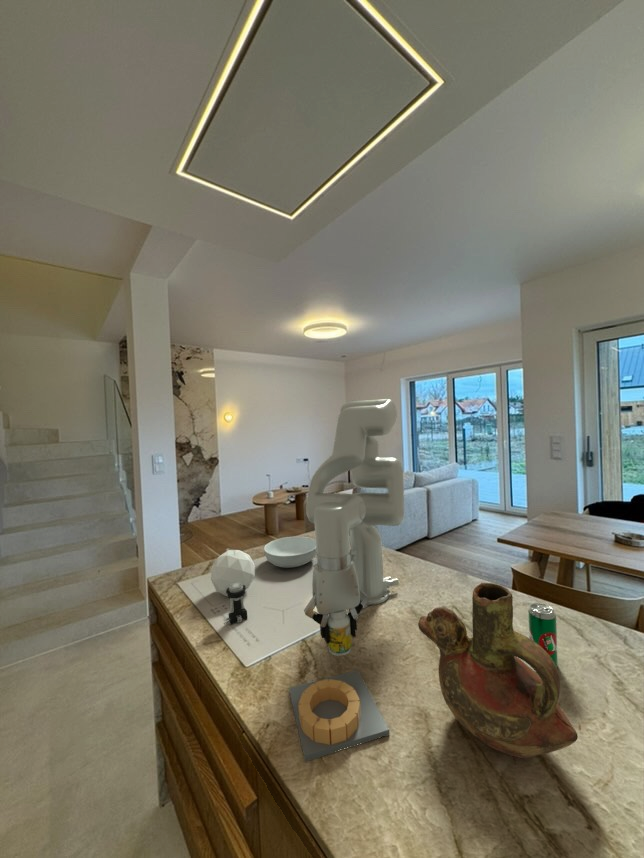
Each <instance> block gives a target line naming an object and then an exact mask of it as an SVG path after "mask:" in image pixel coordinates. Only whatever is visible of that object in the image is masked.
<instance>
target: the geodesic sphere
mask: <svg viewBox="0 0 644 858" xmlns="http://www.w3.org/2000/svg"><path fill="white" fill-rule="evenodd" d="M225 550H226V551H225V552H223V553H222V554H221V555H219V556H218V557H217V558H216V560H215V561H214V562H213V564H212V566H211V568H210V580H211V583H212V585H213V587H214V589H215V592H218V593H220V594H222V595H224V596H226V597H228V595H227V593H226V589H227V588H228V587H229V586H230V585H231V584H233V583H236V582H239V583H242V585H244V586H245V587H246V590H248V589H249V587H250V585H251V584H252V582H253V581H254V579H255V575H256V574H255V572H256V567H255V563H254V561H253V559H252V557H251V556H250V554H248V553H246V552H245V551H242V550H240V549H235V548H234V549H233V548H230V547H229V548H226V549H225Z"/></svg>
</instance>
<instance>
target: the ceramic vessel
mask: <svg viewBox="0 0 644 858" xmlns="http://www.w3.org/2000/svg"><path fill="white" fill-rule="evenodd" d="M471 597H472V600H471V601H472V602H471V603H472V609H471V610H472V613H471V614H472V615H471V616H472V618H471V619H472V620H471V621H472V637H469V636H468V634H467V628H466V626H465V624H464V622H463V621H462V619H461V618H459V616H458V615H457V614H456V612H454V611H453V610H451V609H449V608H445V607H443V606H442V607H436V608H433V609H432V611H429V612H428V613H427V616H420V618H419V619H418V623H417V625H418V629H419V631H420V632H421V633H422V634H423V635H425V636H426V637H427V638H428V639H429V640H430V641H432V642H433V643H434V644H435V645H436V646H437V647H438V649H439V663H438V680H439V686H440V689H441V694H442V697H443V699H444V702H445V703H446V705H447V707H448V708H449V710H450V711H451V713H452V715H453V717H454V718H455V719H456V721H457V722H459V723H460V724H461V725H462V726H463V728H465V729H466V730H467V731H468V732H469V733H470V734H472V735H473V736H474V737H476V738H478V739H479V740H480V741H481V742H482V743H483V744H485V745H487V746H488V747H490V748H492V749H493V750H496V751H498V752H500V753H501V752H502V753H503V754H507V755H508V756H511V757H515V758H520V759H527V758H530V757H534V756H540V755H545V754H546V755H547V754H549V753H553V752H557V751H559V750H562V749H564V748H565V749H566V748H567V747H569V746H571V745H573V744H574V743H575V742H576V741H577V740H578V733H577V731H576V729H575V728H574V726H573V724H572V723H571V722H570V721H569V719H568V717H567V716H566V714H565V712H564V711H563V710H562V709H561V707H560V706H559V704H558V701H559V697H560V691H561V690H560V689H561V679H560V674H559V672H558V667H557V666H556V665H555V663H554V661H553V660H552V658H551V657H550V655H549V654H548V653H547V652H546V651H545V650H544V649H543V648H542V647H541V646H540V645H538V644H537V643H536V642H534V641H533V640H531V639H530V638H529V637H527V636H526V635H524V634H522V633H519V632H518V631H515V630H514V626H513V625H514V624H513V621H514V606H513V602H514V601H513V598H514V597H513V594H512V592H511V591H510V590H509V589H508V588H507V587H505V586H502V585H501V584H498V583H493V582H480V583H479V584H478V585H477V586H475V587H474V589H473V591H472V596H471ZM528 665H529V666H528Z"/></svg>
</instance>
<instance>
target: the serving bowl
mask: <svg viewBox="0 0 644 858" xmlns="http://www.w3.org/2000/svg"><path fill="white" fill-rule="evenodd" d="M263 551H264V555H265V558H266V560H267V561H268V562H269V563H271V564H272V565H274V566H275V567H279V568H287V569H288V568H297V567H301V566H304V565H307V564H308V563H309V562H311V561H312V560H313V559H314V558H315V557H316V556H317V551H316V539H314V538H313V537H312V538H311V537H307V536H286V537H280V538H277V539H274V540H271V541H270V542H268V543H266V544H265V545H264V547H263Z"/></svg>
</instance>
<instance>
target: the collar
mask: <svg viewBox="0 0 644 858" xmlns="http://www.w3.org/2000/svg"><path fill="white" fill-rule="evenodd" d="M326 700H335V701H339V702H341V703H342V704H344V705H345V706H346V707H347V710H346V711H345V712H344V713H343V714H342V715H341V716H340V717H337V718H334V719H330V720H329V719H323V718H319V717H318V716H316V715H315V714H314V713H313V712H312V710H313V708H314V707H315V706H316V705H317V704H319V703H320V702H322V701H326ZM298 708H299V720H300V724H301V728H302V730H303V732H304V733H305V734H306V735H307V736H308V737H309V738H310V739H312V740H313V741H314V740H315V742H319V743H324V744H329V745H330V742H331V744H335V743H338V742H341V741H345V740H346V738H349V737H350V736H351V735H352V734H353V733H354V732H355V731H356V730H357V729H358V727H359V722H360V716H361V711H360V699H359V697H358V695H357V693H356V691H355V690H354V688H353V687H351V686H350V685H348V684H347V683H345V682H343V683H342V681H339V680H332V679H329V681H328V679H327V680H323V681H319V682H315V684H314V683H313V684H312V685H311V686H309V687H308V688H307V689H306V690H305V691H304V692H303V693H302V696H301V698H300V701H299V703H298Z"/></svg>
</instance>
